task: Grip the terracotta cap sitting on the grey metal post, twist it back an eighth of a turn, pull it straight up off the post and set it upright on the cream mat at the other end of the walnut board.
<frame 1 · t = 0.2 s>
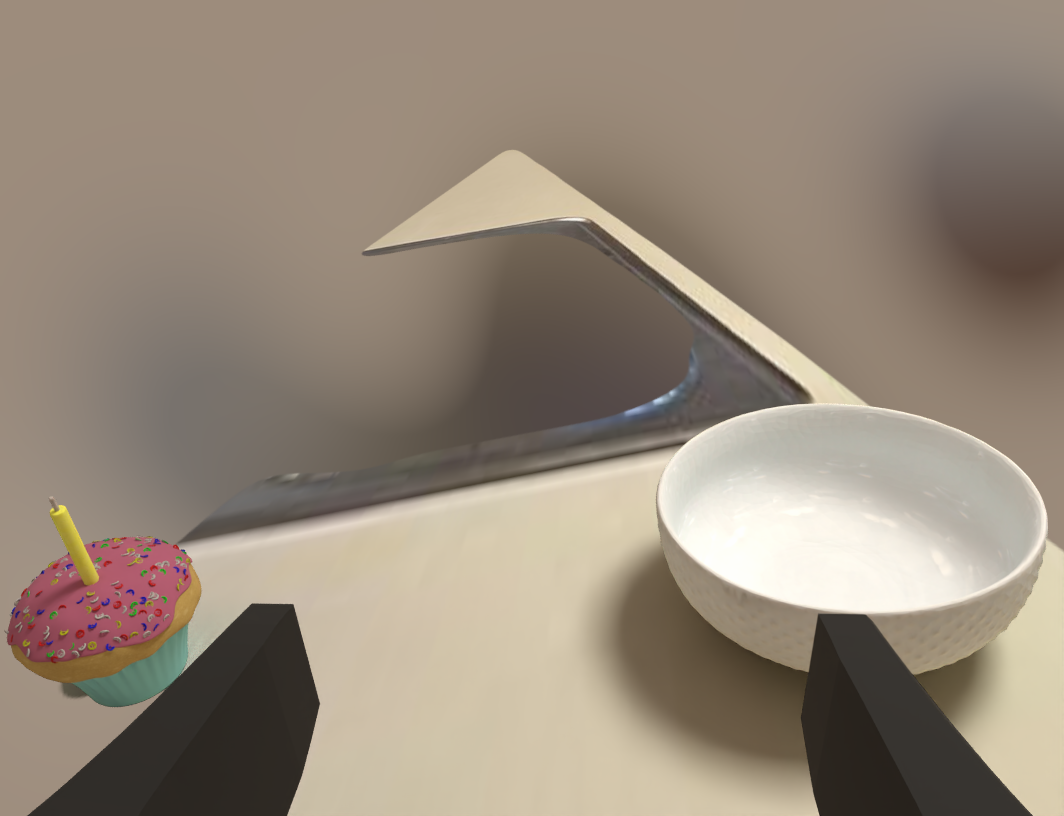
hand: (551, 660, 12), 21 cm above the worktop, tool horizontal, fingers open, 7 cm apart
cupcake: (138, 674, 43), on the worktop
cereal bowl: (828, 605, 42), on the worktop
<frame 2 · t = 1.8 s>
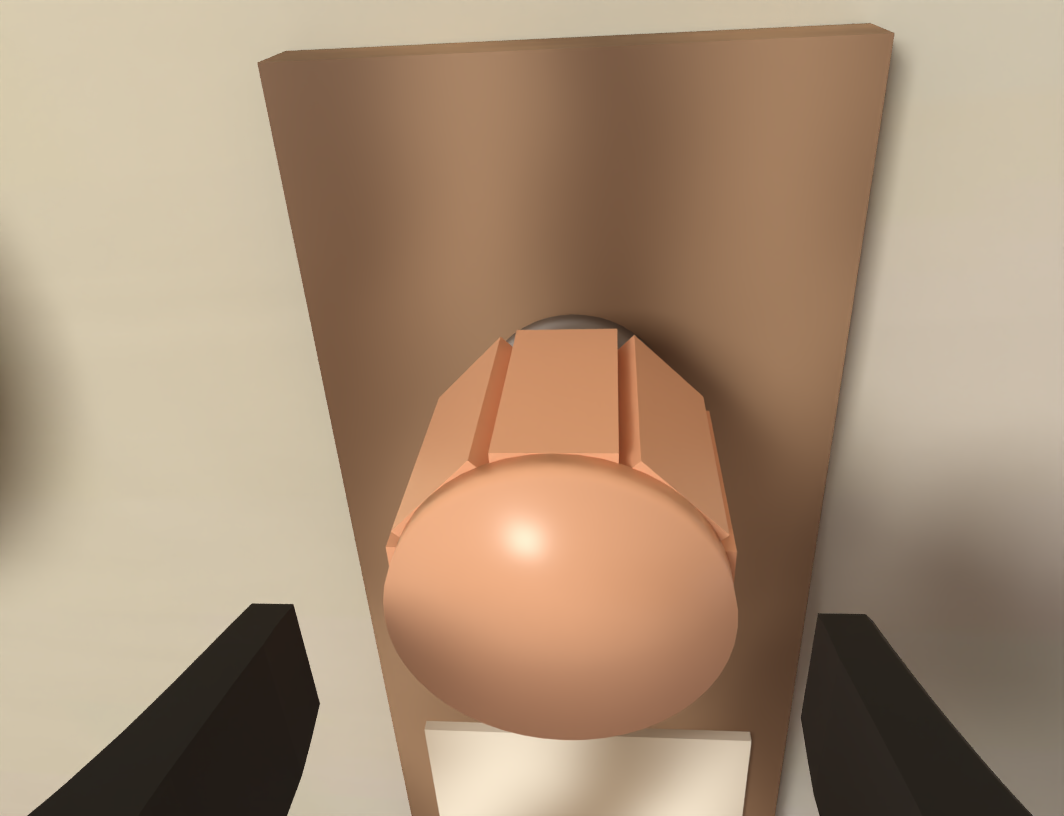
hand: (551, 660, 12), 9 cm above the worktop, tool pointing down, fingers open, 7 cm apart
board: (583, 594, 23), on the worktop
cap: (570, 450, 16), point 3 cm above the worktop, touching board
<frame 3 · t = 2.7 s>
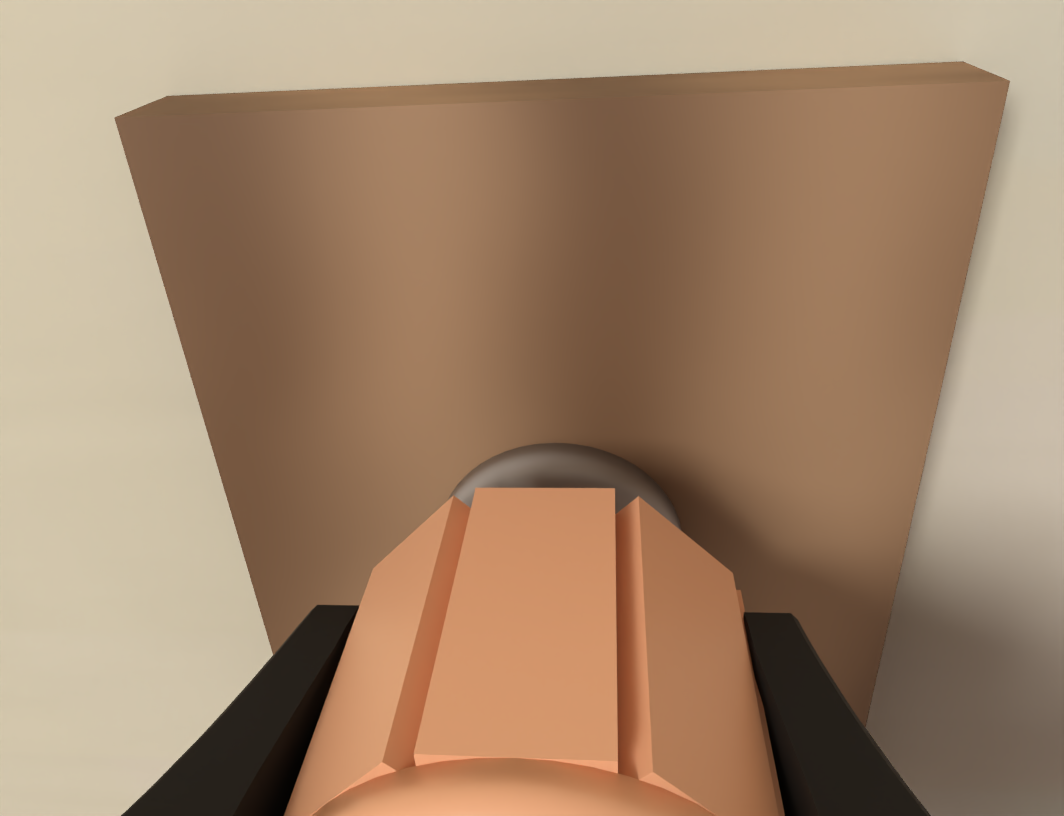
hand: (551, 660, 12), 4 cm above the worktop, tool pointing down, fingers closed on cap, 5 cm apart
board: (574, 744, 19), on the worktop
cap: (552, 634, 12), point 3 cm above the worktop, touching board, gripper
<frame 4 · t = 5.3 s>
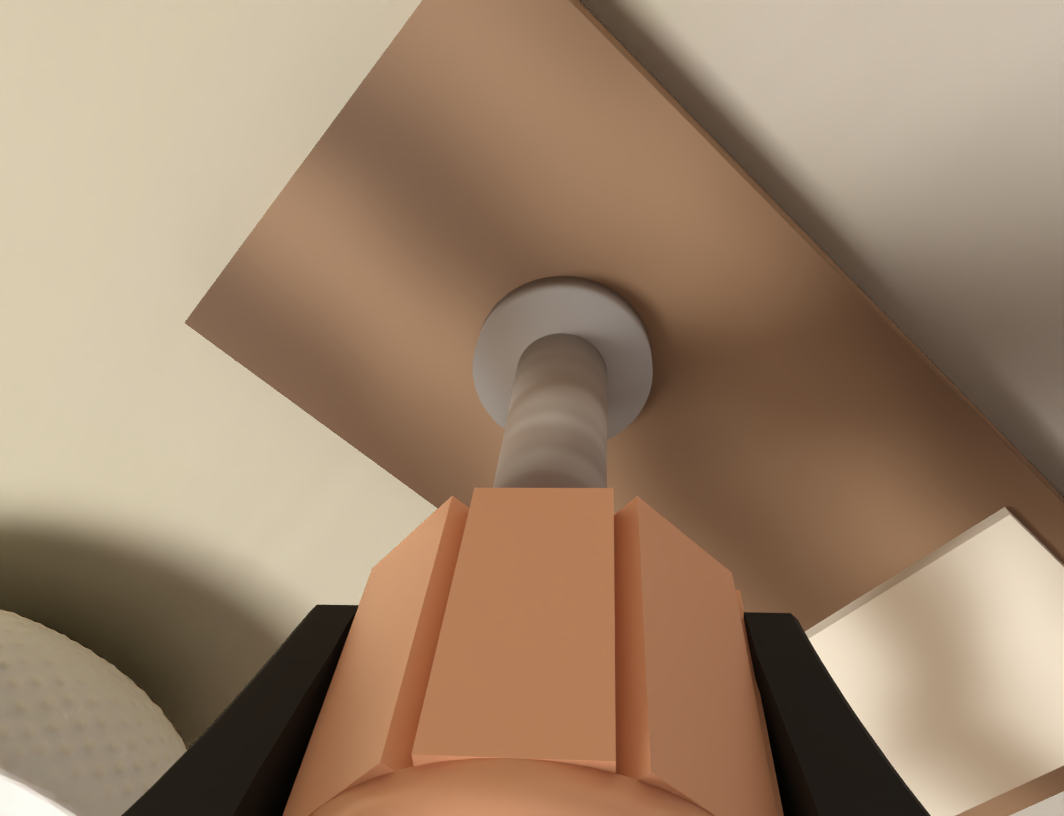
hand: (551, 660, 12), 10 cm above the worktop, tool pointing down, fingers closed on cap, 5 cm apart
board: (755, 493, 22), on the worktop
cap: (552, 634, 12), point 10 cm above the worktop, touching gripper
cereal bowl: (26, 690, 30), on the worktop
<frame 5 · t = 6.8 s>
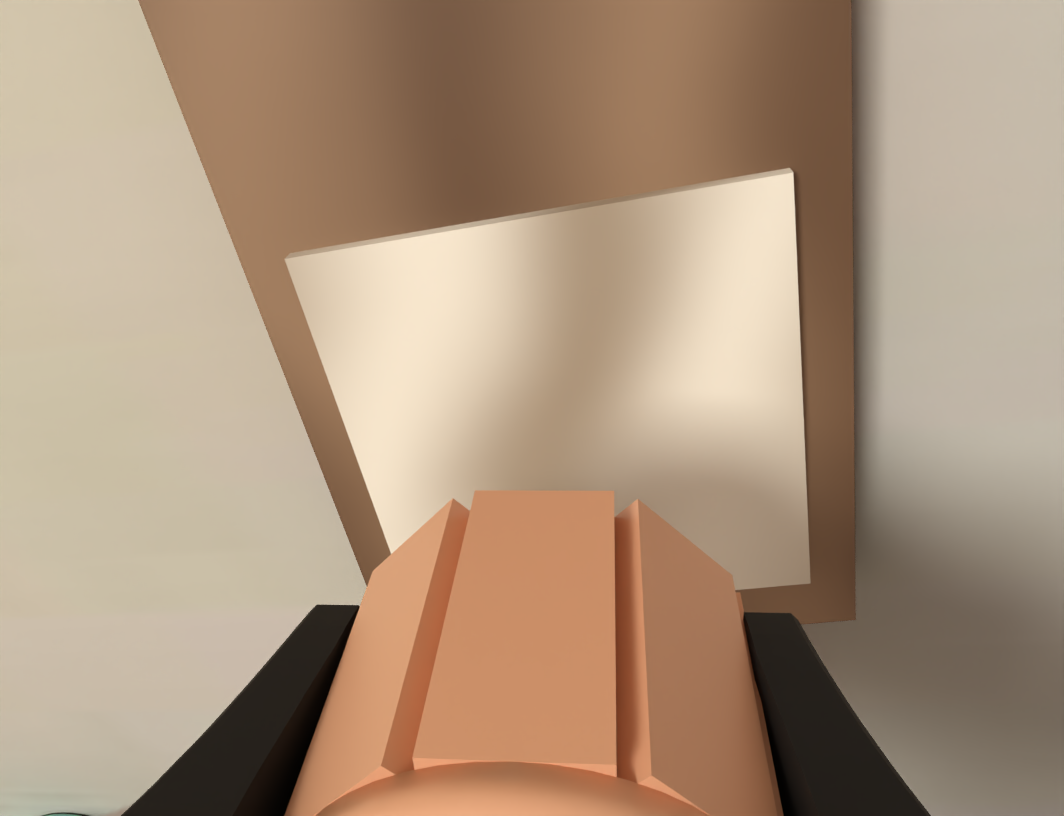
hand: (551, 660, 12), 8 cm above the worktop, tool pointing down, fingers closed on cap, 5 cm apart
cap: (552, 636, 12), point 7 cm above the worktop, touching gripper
when the fingers open (4 cm above the worktop, at t = 8.0 s): cap drops 1 cm, resting on board.
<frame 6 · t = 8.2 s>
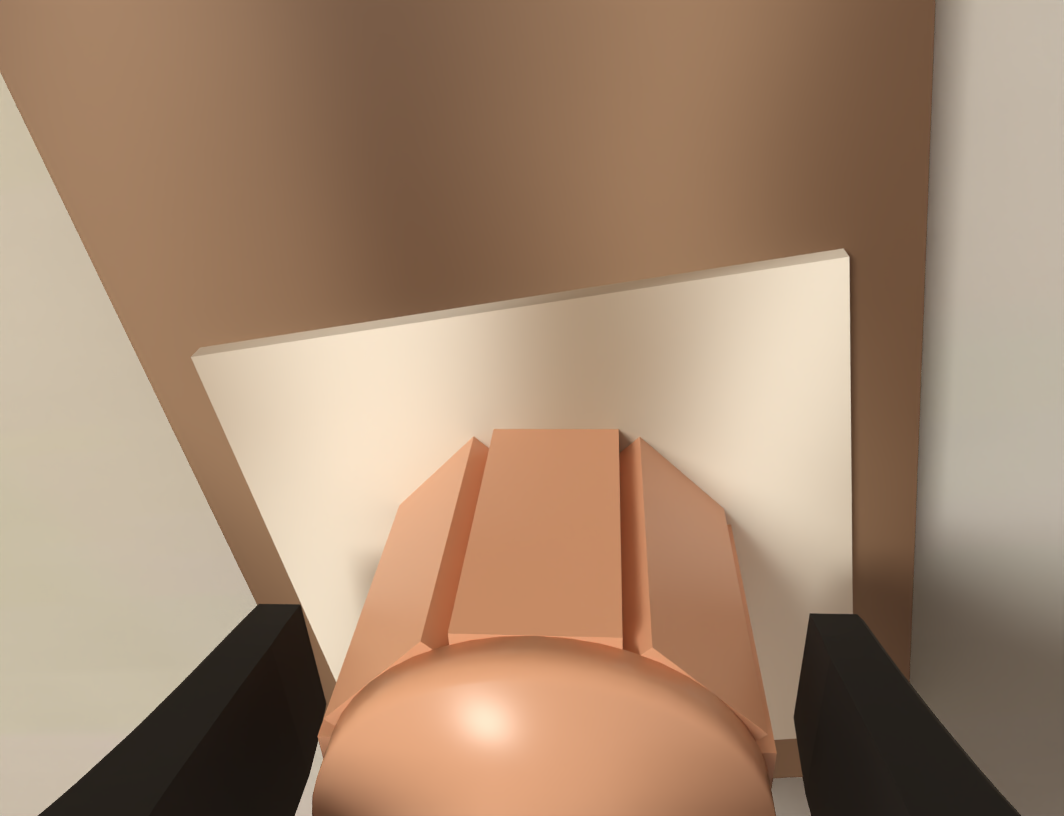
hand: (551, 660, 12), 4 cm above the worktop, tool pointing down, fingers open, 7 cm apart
board: (456, 12, 11), on the worktop
cap: (561, 567, 13), point 2 cm above the worktop, touching board
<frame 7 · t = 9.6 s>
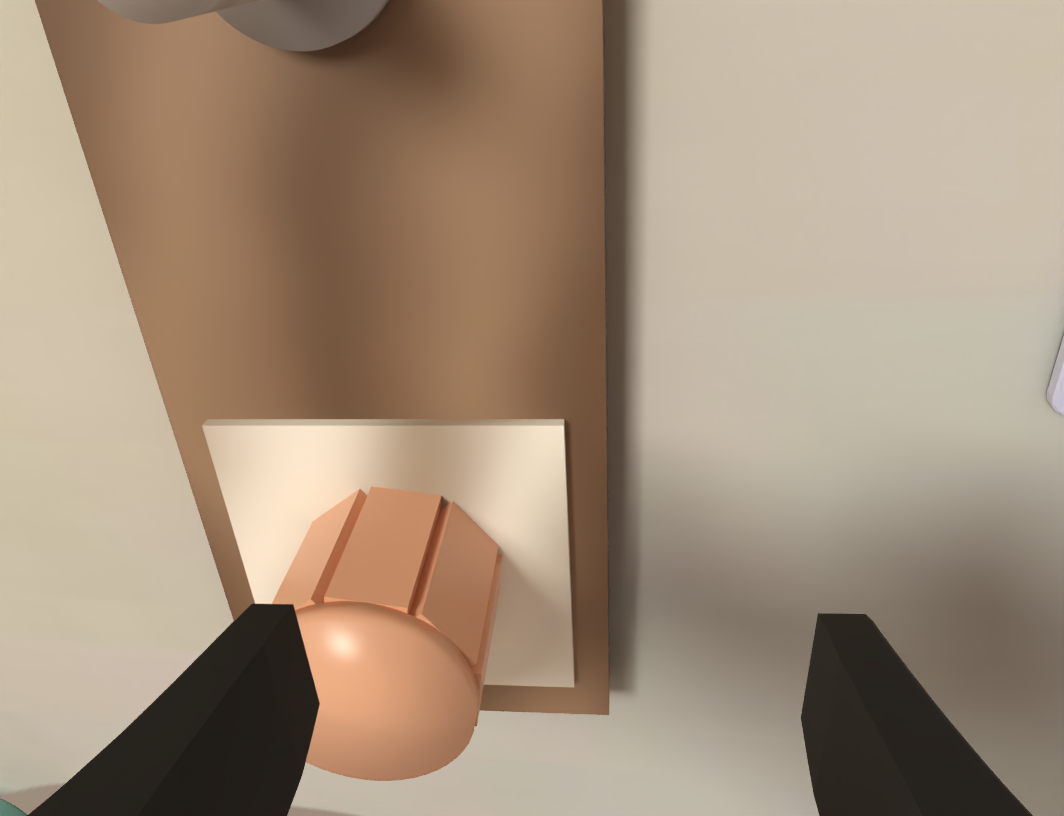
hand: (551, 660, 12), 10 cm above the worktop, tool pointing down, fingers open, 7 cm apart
board: (375, 262, 20), on the worktop
cap: (404, 567, 22), point 2 cm above the worktop, touching board
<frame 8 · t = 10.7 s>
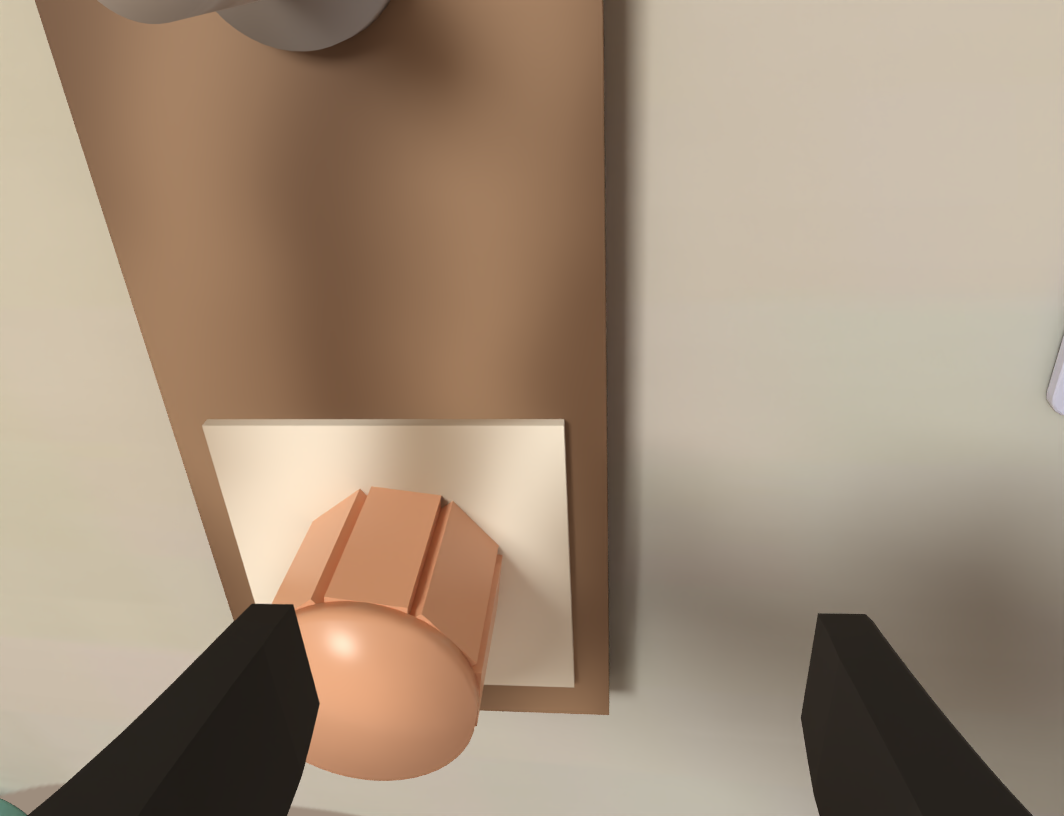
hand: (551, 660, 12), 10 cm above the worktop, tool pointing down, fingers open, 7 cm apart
board: (375, 262, 20), on the worktop
cap: (404, 567, 22), point 2 cm above the worktop, touching board
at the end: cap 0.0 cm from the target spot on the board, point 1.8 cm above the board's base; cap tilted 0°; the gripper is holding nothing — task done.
